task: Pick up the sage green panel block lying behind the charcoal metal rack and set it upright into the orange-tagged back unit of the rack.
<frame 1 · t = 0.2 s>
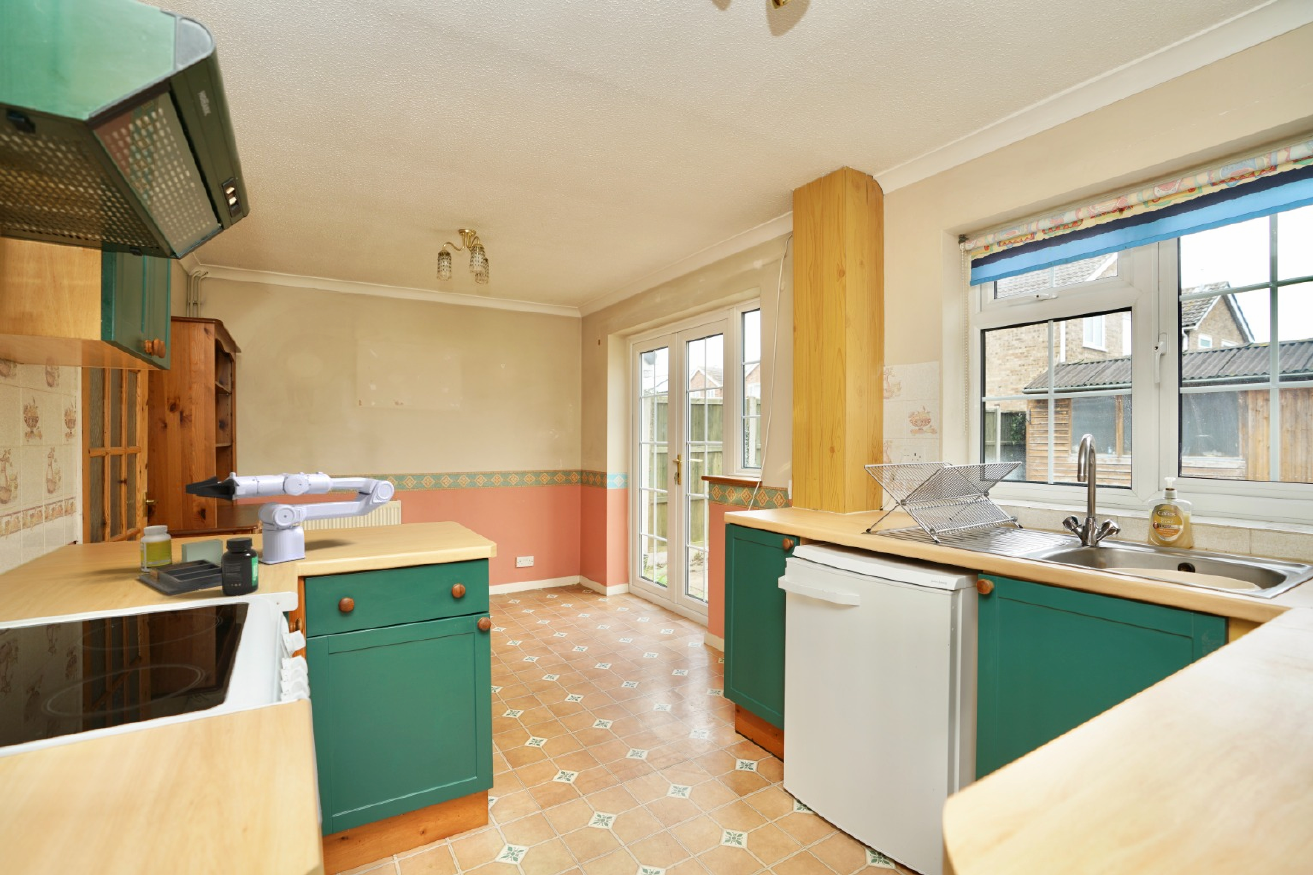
hand: (191, 490, 150), 21 cm above the table, tool horizontal, fingers open, 7 cm apart
rack: (192, 579, 147), on the table
supplement bottle: (240, 592, 137), on the table
pill bottle: (156, 570, 156), on the table
panel block: (202, 564, 162), on the table
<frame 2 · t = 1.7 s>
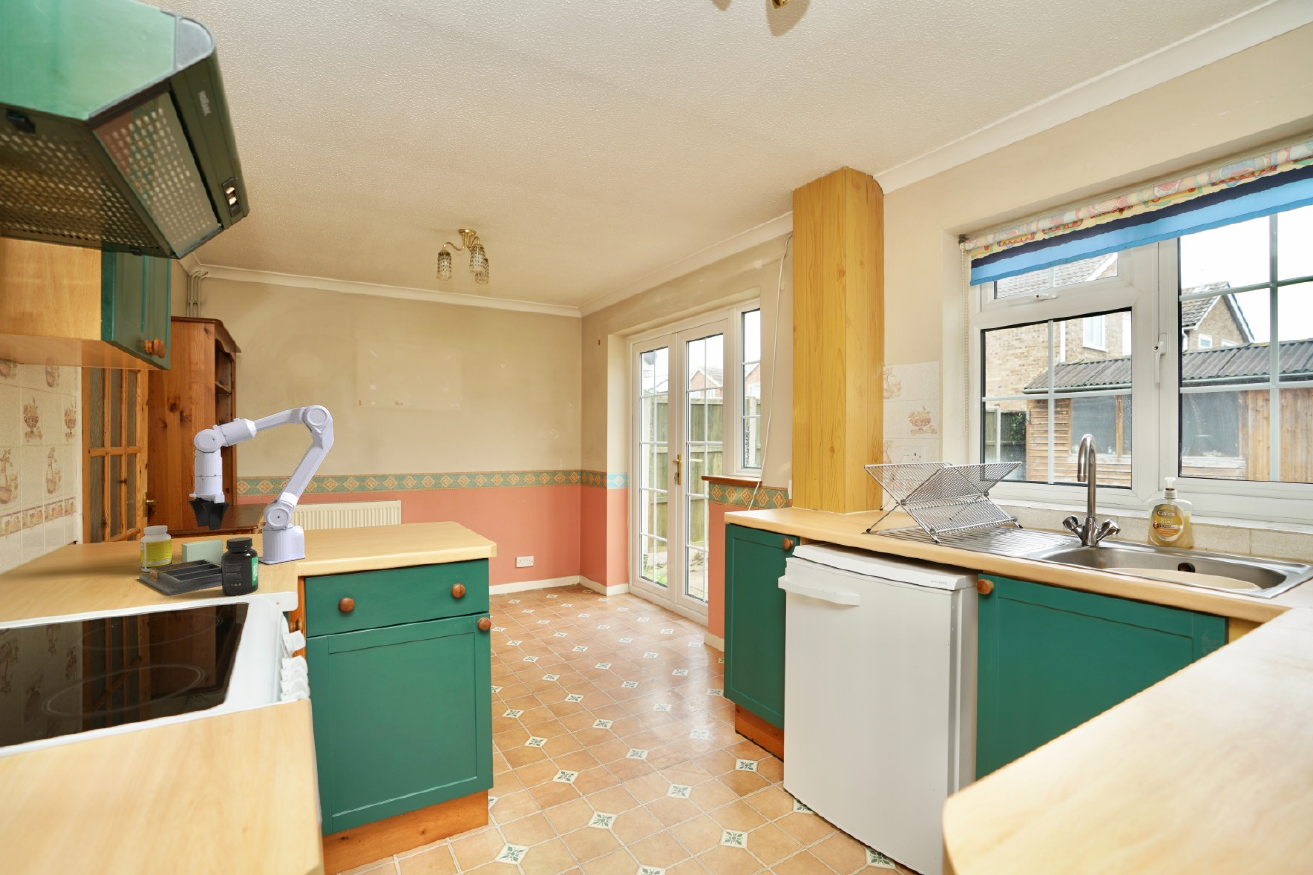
hand: (209, 528, 158), 10 cm above the table, tool pointing down, fingers open, 7 cm apart
nothing on the table moved.
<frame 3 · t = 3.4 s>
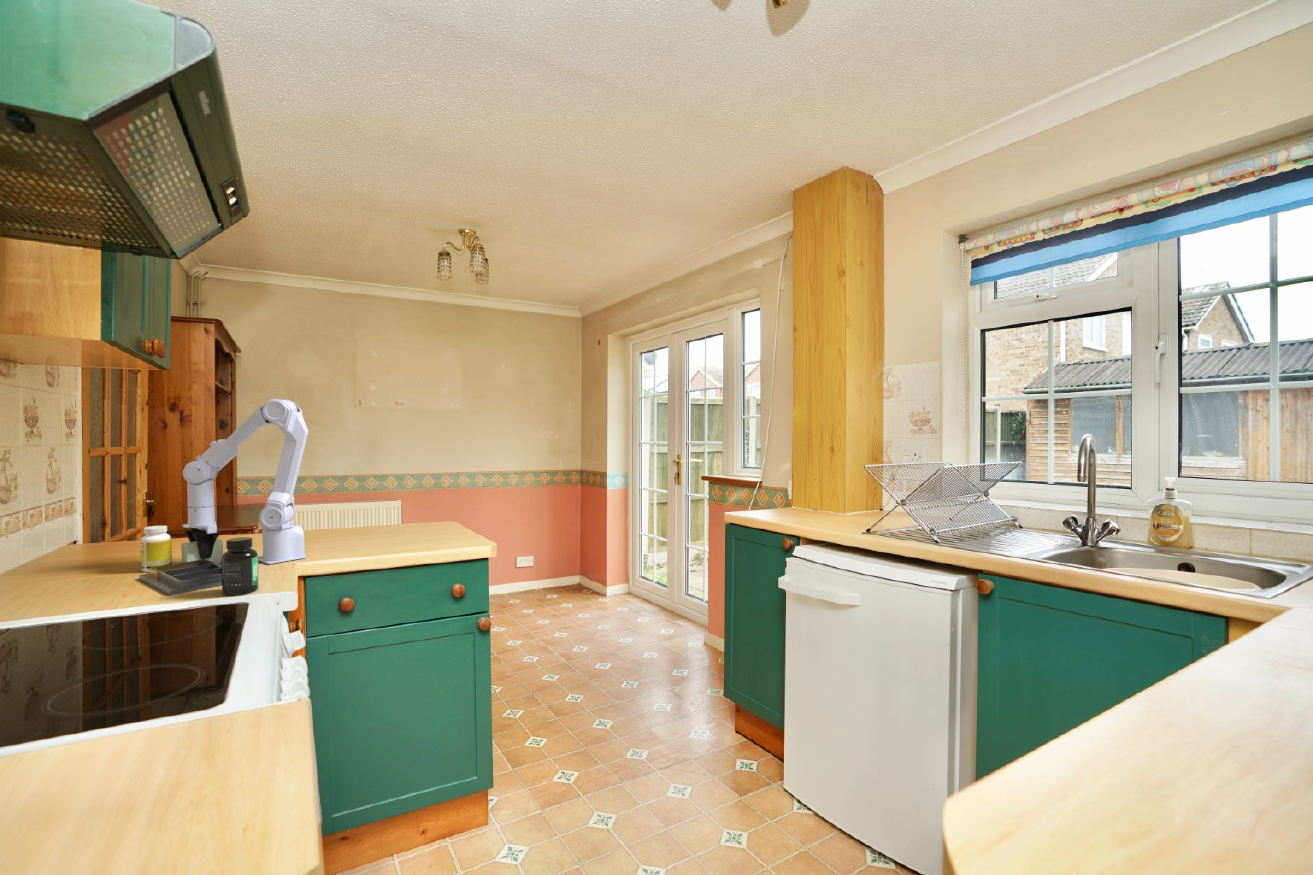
hand: (202, 557, 162), 2 cm above the table, tool pointing down, fingers closed on panel block, 4 cm apart
panel block: (202, 564, 162), on the table, touching gripper
everything else where it was.
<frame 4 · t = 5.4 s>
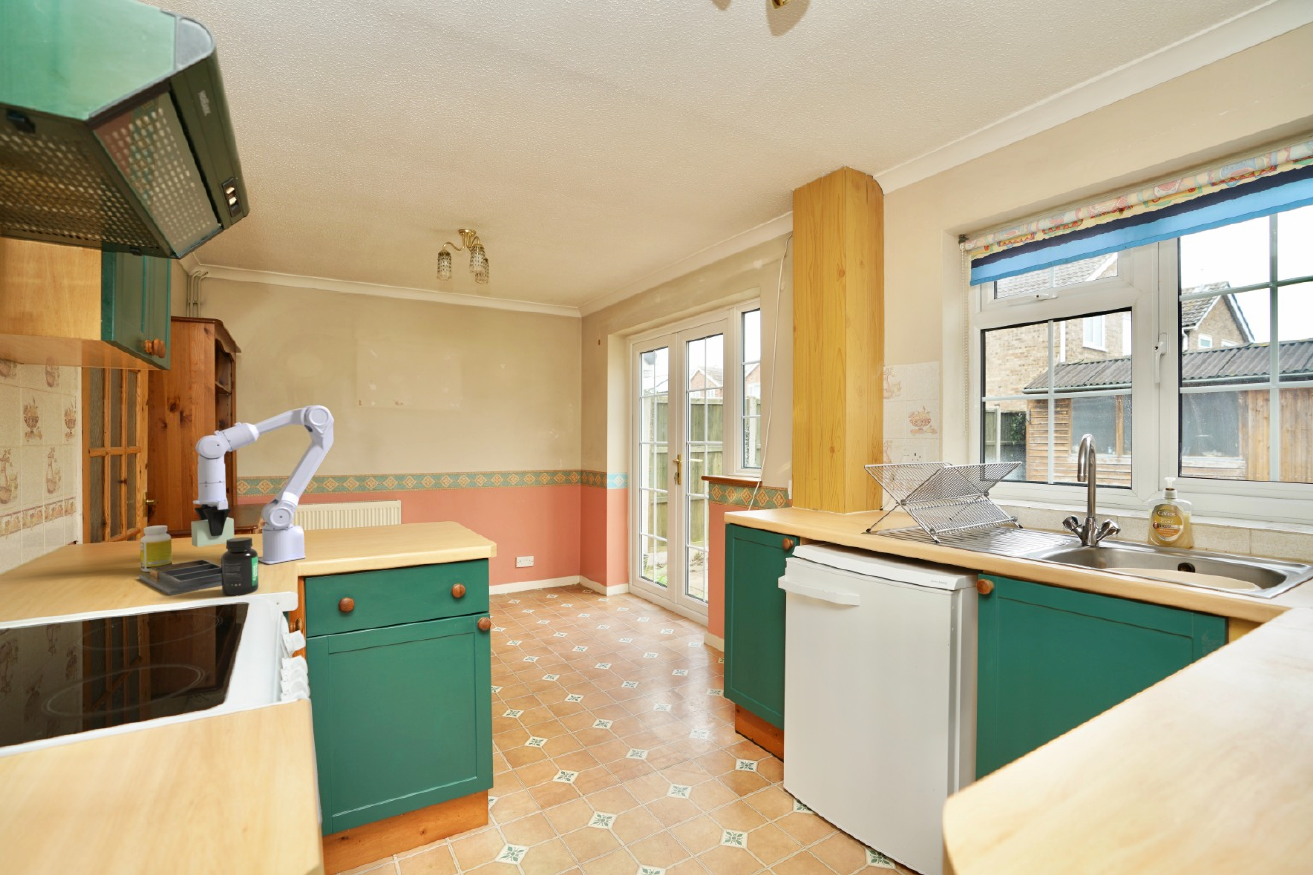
hand: (213, 534, 157), 9 cm above the table, tool pointing down, fingers closed on panel block, 4 cm apart
panel block: (213, 543, 157), point 7 cm above the table, touching gripper
everything else where it was.
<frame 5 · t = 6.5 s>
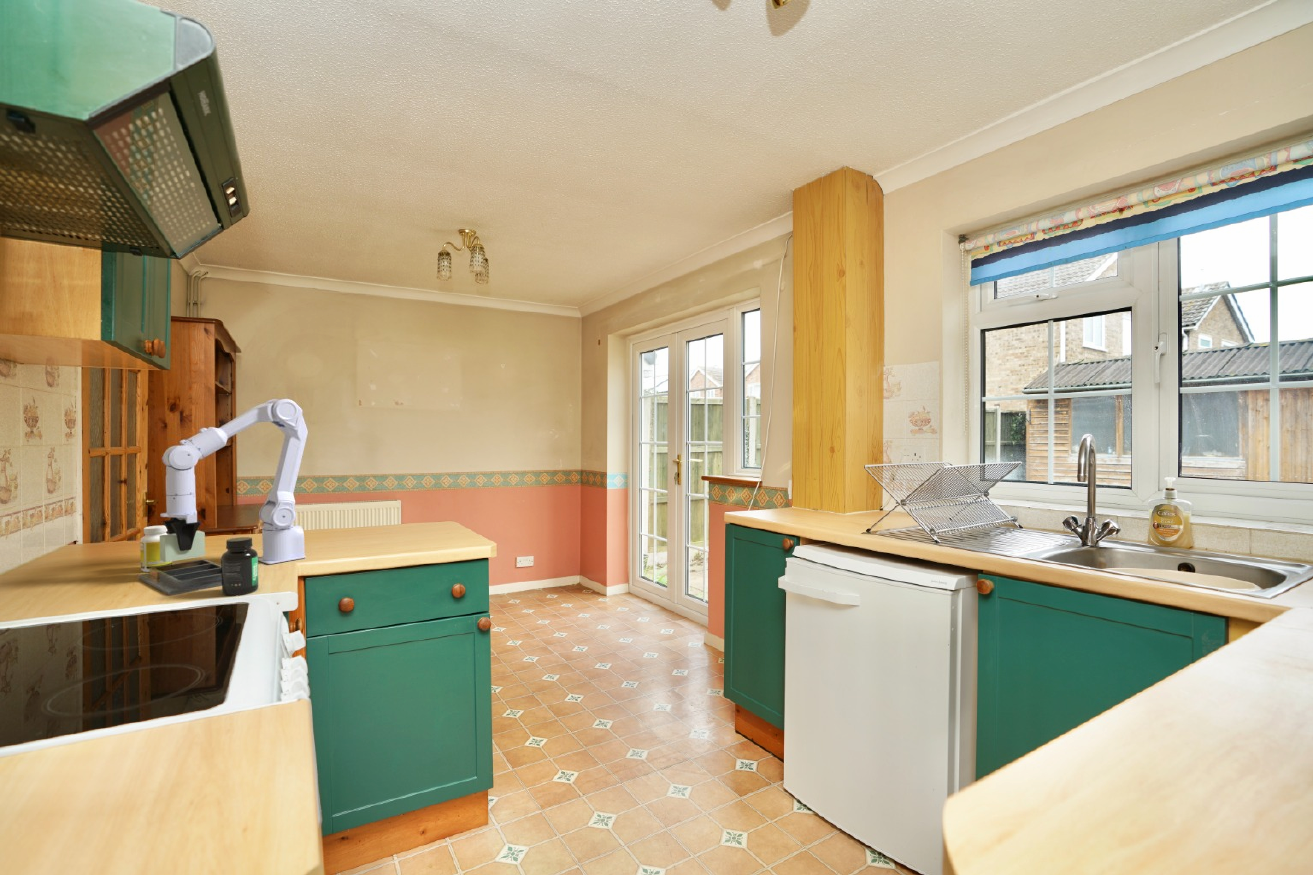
hand: (182, 548, 150), 7 cm above the table, tool pointing down, fingers closed on panel block, 4 cm apart
panel block: (183, 557, 150), point 4 cm above the table, touching gripper
everything else where it was.
when the fingers open (4 cm above the table, at t = 7.4 s): panel block stays where it is, resting on rack.
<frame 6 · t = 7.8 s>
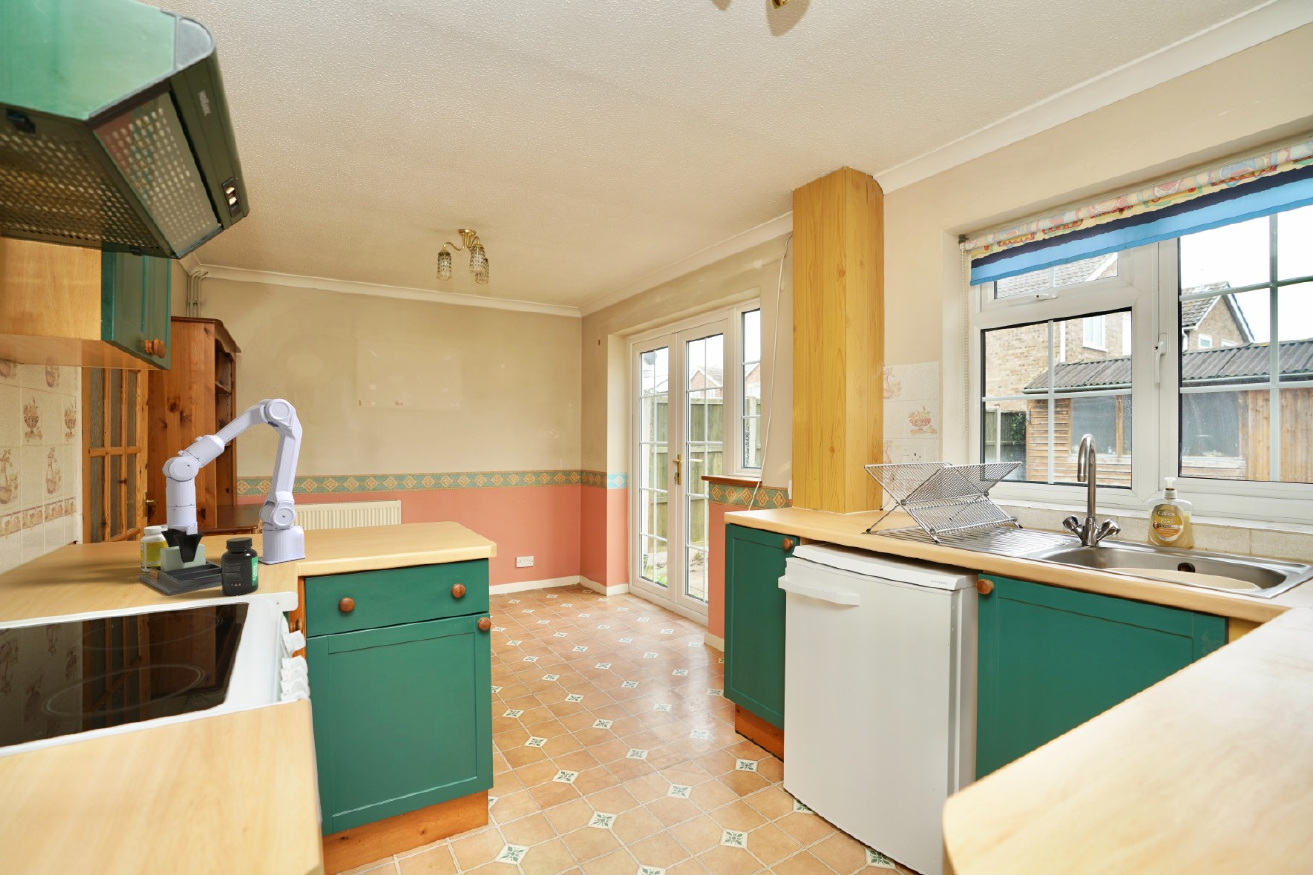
hand: (182, 559, 150), 4 cm above the table, tool pointing down, fingers open, 7 cm apart
panel block: (183, 570, 151), point 1 cm above the table, touching rack
everything else where it was.
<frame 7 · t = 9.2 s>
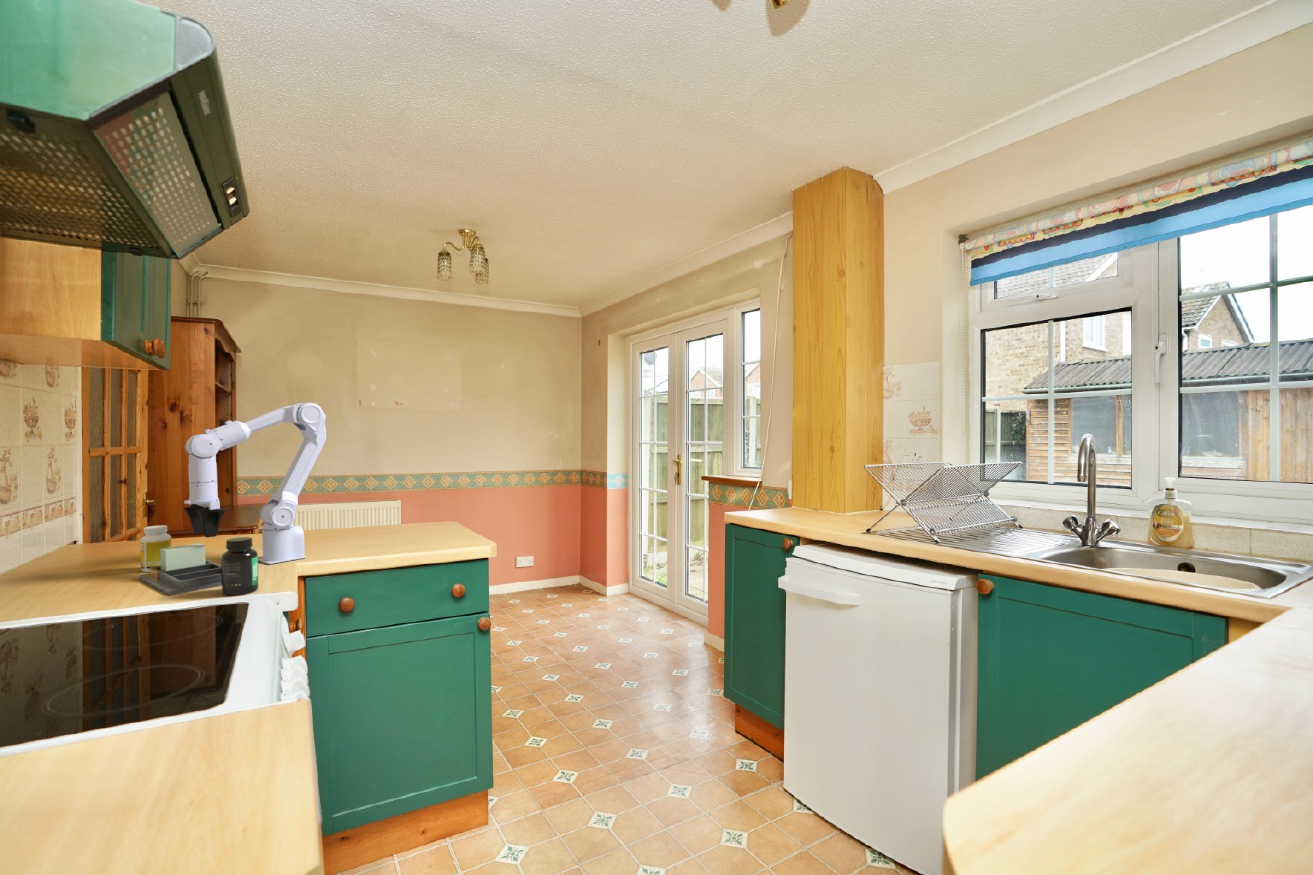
hand: (205, 535, 154), 9 cm above the table, tool pointing down, fingers open, 7 cm apart
nothing on the table moved.
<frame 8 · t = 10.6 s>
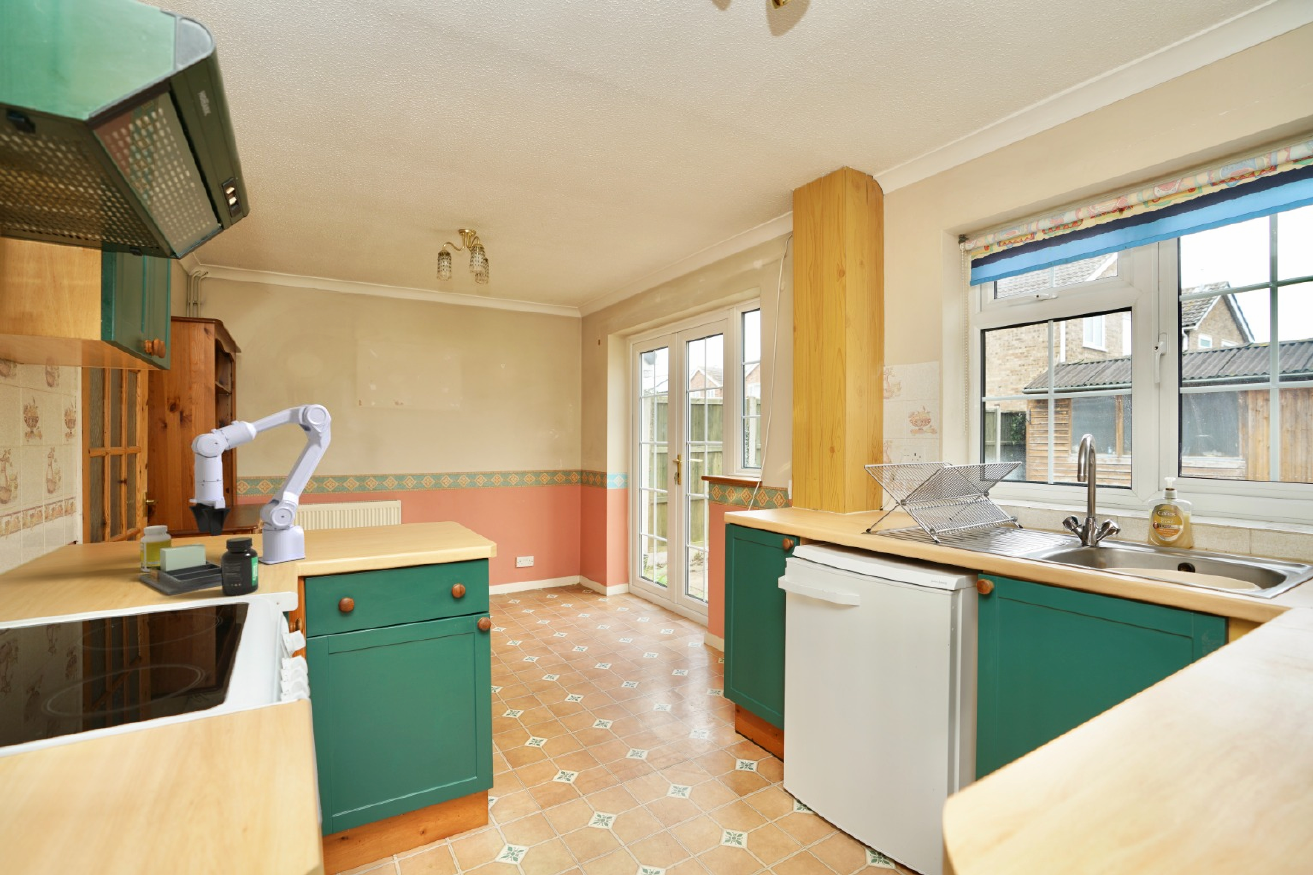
hand: (210, 533, 155), 9 cm above the table, tool pointing down, fingers open, 7 cm apart
nothing on the table moved.
at the end: panel block 0.1 cm from the target spot on the rack, point 1.1 cm above the rack's base; panel block tilted 0°; the gripper is holding nothing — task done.
